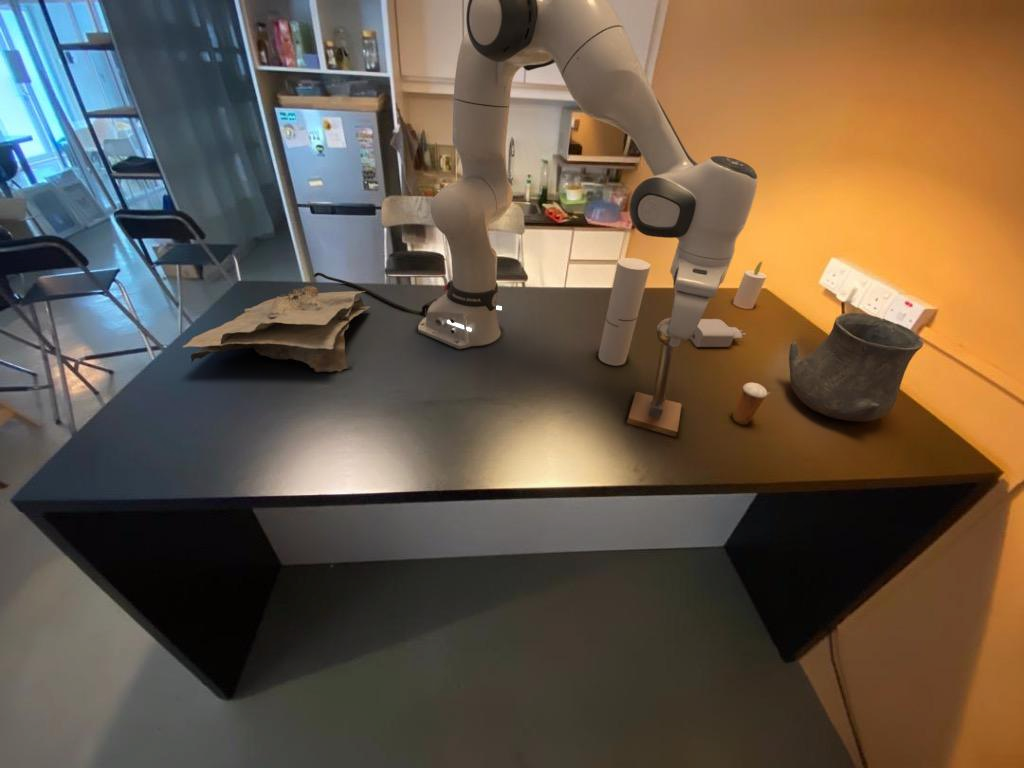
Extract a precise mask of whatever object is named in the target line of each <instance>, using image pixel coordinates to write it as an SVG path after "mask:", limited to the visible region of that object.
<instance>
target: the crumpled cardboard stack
mask: <svg viewBox="0 0 1024 768" xmlns="http://www.w3.org/2000/svg"><path fill="white" fill-rule="evenodd" d="M362 293H366V292H365V291H362V290H360V291H353V290H350V291H330V292H319V291H318V288H317V287H315V286H311V285H307V286H305V287H303V288H301V289H300V288H296V289H295V288H294V289H292V291H290V292H289V293H287V295H286V293H284V294H283V295H282V293H281V294H280V296H279V295H278V296H277V297H274V298H271V299H268V300H265V301H262V302H261V303H259V304H257V305H254V306H252V307H249V308H245V309H244V313H241V314H240V315H239V316H237V317H235V318H234V319H233V320H229V321H227V322H224V323H223V324H222V325H220V326H217V327H215V328H212V329H209V330H207V331H204V332H203V333H200V334H199V335H195V336H194V337H192V338H191V340H189V341H188V342H187V343H186V344H183V346H182V348H189V347H194V348H195V347H198V348H199V347H200V348H201V347H203V348H201V349H199V350H197V351H196V352H193V353H192V354H191V355H190V359H191V361H190V364H192V363H193V362H194V361H195V359H203V358H205V357H206V356H208V355H210V354H212V353H213V354H215V355H218V354H222V353H224V352H226V351H232V350H234V351H238V350H241V349H252V348H253V350H254V352H256V353H258V354H259V356H264V357H265V356H266V357H267V358H270V359H272V360H288V359H289V360H291V359H292V360H295V361H299V362H303V363H305V364H307V365H308V366H309V368H311V369H314V372H317V373H320V372H321V373H322V372H329V373H333V372H342V371H343V370H345V369H349V365H348V358H347V352H346V339H345V331H346V330H348V329H349V327H350V322H351V321H352V320H353V319H354V318H355V317H357V316H359V315H360V314H363V312H364V311H366V310H369V308H370V306H365V304H364V302H363V301H364V300H363V299H362V297H361V296H360V297H359V298H358V299H355V298H356V297H355V296H356V295H359V294H362Z"/></svg>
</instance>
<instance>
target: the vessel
mask: <svg viewBox="0 0 1024 768" xmlns="http://www.w3.org/2000/svg"><path fill="white" fill-rule="evenodd" d="M924 345H925V343H924V341H923V338H922V337H921V336H920V335H918V334H917V333H916V332H914V330H911V329H910V328H909V327H907V326H904V325H901V324H899V323H896V322H893V321H890V320H888V319H886V318H881V317H879V316H875V315H872V314H867V313H860V312H845V313H842V314H839V315H837V317H836V318H835V319H834V322H833V325H832V329H831V331H830V333H829V334H828V335H827V336H826V338H825V339H824V340H823V341H822V342H821V343H820V344H819V345H818V346H817V347H815V349H813V350H812V351H811V352H810V353H809V354H807V355H806V356H805V357H803V358H801V357H800V356H799V351H798V344H797V342H796V341H792V342H791V343H790V347H789V355H788V363H789V381H790V384H791V388H792V390H793V393H794V394H795V396H796V397H797V398H798V400H799V401H800V402H801V403H802V404H803V405H805V406H806V407H807V408H809V409H811V410H813V412H816V413H818V414H820V415H823V416H825V417H829V418H832V419H836V420H841V421H845V422H871V421H876V420H878V419H881V418H882V417H884V416H886V415H887V414H888V413H890V412H891V410H892V409H893V408H894V407H895V403H896V401H897V399H898V394H899V393H900V389H901V385H902V382H903V378H904V376H905V372H906V370H907V368H908V366H909V364H910V362H911V360H912V359H913V358H914V356H915V355H916V353H917V352H918V351H919V350H920V349H922V348H923V346H924Z"/></svg>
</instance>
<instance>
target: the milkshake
mask: <svg viewBox="0 0 1024 768" xmlns="http://www.w3.org/2000/svg"><path fill="white" fill-rule="evenodd" d="M774 390H776V387H774V388H772V389H771V390H770V391H767V389H766V388H765V386H763V385H762V384H760V383H757V382H751V381H750V382H747V383H744V384H743V386H742V389H741V392H740V395H739V398H738V400H737V403H736V406H735V409H734V411H733V414H732V419H733V421H734V422H735V423H737V424H739V425H748V424H749V423H750V421H751V420H752V419H753V417H754V415H755V414H756V412H757V411H758V409H759V407H760V406H761V404H762V403H763V402H764V400H765V399H766V397H767V396H768V395H769V394H770V393H772V392H773V391H774Z"/></svg>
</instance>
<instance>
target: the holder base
mask: <svg viewBox="0 0 1024 768" xmlns="http://www.w3.org/2000/svg"><path fill="white" fill-rule="evenodd" d="M652 401H653V395H651V394H647V393H643V392H639V391H635V393H634V396H633V399H632V403H631V406H630V410H629V413H628V416H627V421H626V424H629V425H632V426H636V427H639V428H643V429H646V430H649V431H652V432H656V433H659V434H663V435H667V436H670V437H673V438H676V437H677V435H678V432H679V425H680V418H681V413H682V411H681V410H682V403H680V402H677V401H673V400H670V399H666V396H665V397H664V402H663V405H662V408H661V407H657V406H654V405H652Z"/></svg>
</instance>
